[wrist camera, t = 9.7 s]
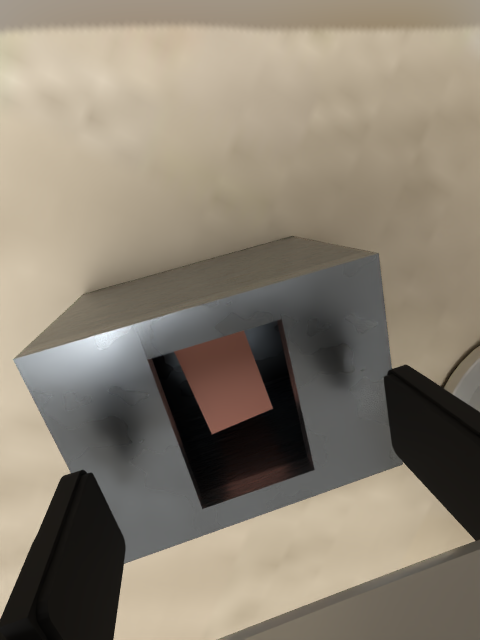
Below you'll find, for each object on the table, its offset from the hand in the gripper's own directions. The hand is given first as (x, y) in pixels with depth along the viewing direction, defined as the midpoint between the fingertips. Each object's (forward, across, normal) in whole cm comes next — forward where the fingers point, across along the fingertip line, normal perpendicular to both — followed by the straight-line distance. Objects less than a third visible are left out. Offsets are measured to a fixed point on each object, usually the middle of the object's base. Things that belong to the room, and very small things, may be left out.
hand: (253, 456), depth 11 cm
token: (+10, 0, 0) cm, 10 cm away
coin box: (+11, 0, 0) cm, 11 cm away
